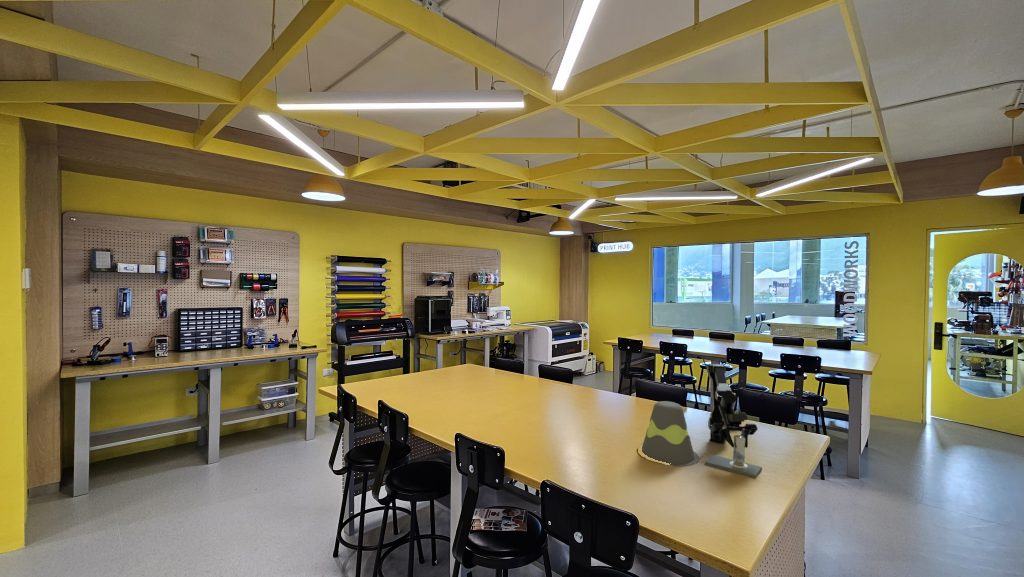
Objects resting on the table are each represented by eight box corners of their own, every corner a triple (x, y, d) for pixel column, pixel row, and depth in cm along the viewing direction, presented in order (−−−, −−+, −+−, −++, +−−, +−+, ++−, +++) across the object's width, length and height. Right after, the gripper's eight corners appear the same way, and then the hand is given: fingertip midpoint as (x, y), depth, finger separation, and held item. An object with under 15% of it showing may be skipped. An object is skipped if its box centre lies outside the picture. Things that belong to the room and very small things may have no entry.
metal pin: (730, 463, 185) (731, 435, 186) (736, 461, 188) (737, 434, 188) (741, 467, 182) (742, 439, 182) (746, 465, 184) (747, 437, 184)
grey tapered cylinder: (708, 453, 201) (708, 403, 201) (685, 472, 180) (686, 415, 180) (652, 439, 219) (652, 393, 220) (626, 454, 199) (626, 403, 199)
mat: (704, 464, 188) (704, 461, 188) (712, 457, 196) (712, 454, 196) (755, 477, 174) (755, 474, 175) (761, 469, 183) (761, 466, 183)
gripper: (713, 405, 189) (724, 438, 178) (755, 405, 188) (769, 439, 177) (705, 417, 197) (716, 450, 186) (746, 418, 196) (759, 450, 185)
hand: (740, 447), depth 183 cm, fingers open, 5 cm apart
